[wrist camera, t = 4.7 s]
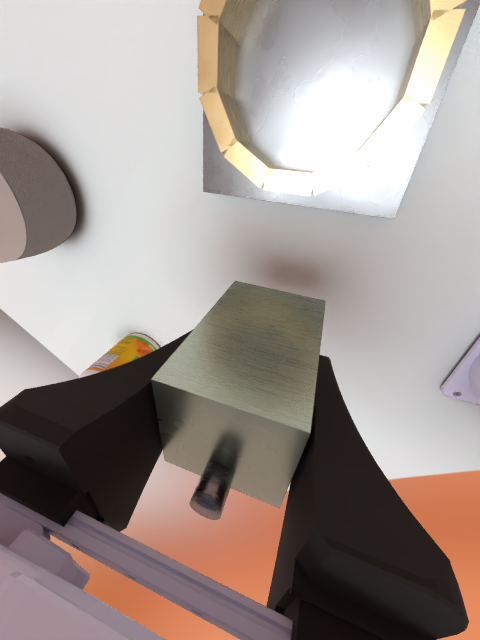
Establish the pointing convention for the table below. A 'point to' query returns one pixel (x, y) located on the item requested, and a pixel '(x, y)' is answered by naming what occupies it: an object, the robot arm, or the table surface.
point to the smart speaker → (31, 199)
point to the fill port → (323, 96)
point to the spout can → (242, 395)
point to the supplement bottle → (123, 353)
